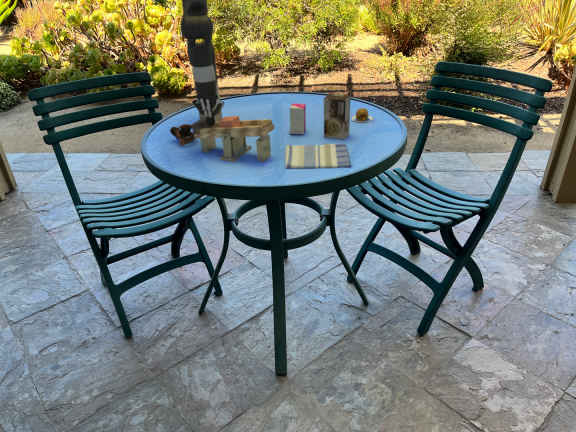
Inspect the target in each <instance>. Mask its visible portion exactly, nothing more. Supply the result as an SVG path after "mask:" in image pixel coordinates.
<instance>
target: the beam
mask: <svg viewBox="0 0 576 432" xmlns="http://www.w3.org/2000/svg"><path fill="white" fill-rule="evenodd" d="M240 123H241V127H223V128H219V124H218V122H215V125H214V126H212V127H211V126H208V125H207V121H206V118H202V119H200V118H199V120H198V121H197V120H196V122H194V123H192V124H190V125H191V126H192V129H191V130H192V132H194V136H195V138H196V139H200V138H215V139H216V138H217V139H218V138H219V139H220V138H221V139H222V133H228V134H230V137H246V138H248V137H249V138H253V137H254V138H256V137H258V138H260V137H263V136H266V135H269V133H271V132H272V131H273V130H274V129H275V128H276V127H275V124H274V123H273V121H272V119H270V118H268V119H267V118H265V119H244V120H240Z"/></svg>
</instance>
